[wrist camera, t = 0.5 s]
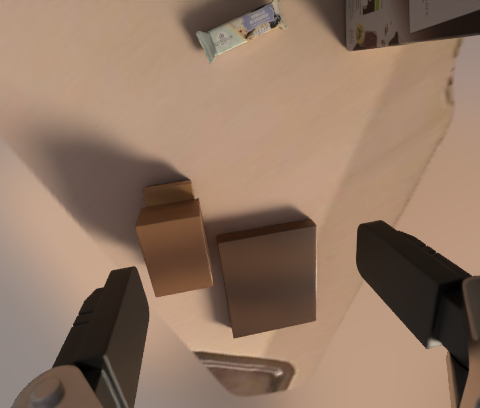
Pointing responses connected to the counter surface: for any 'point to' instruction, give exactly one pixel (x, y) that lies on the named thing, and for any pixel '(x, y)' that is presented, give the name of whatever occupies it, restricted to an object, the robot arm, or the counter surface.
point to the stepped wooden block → (174, 239)
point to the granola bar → (242, 29)
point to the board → (270, 276)
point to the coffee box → (408, 21)
